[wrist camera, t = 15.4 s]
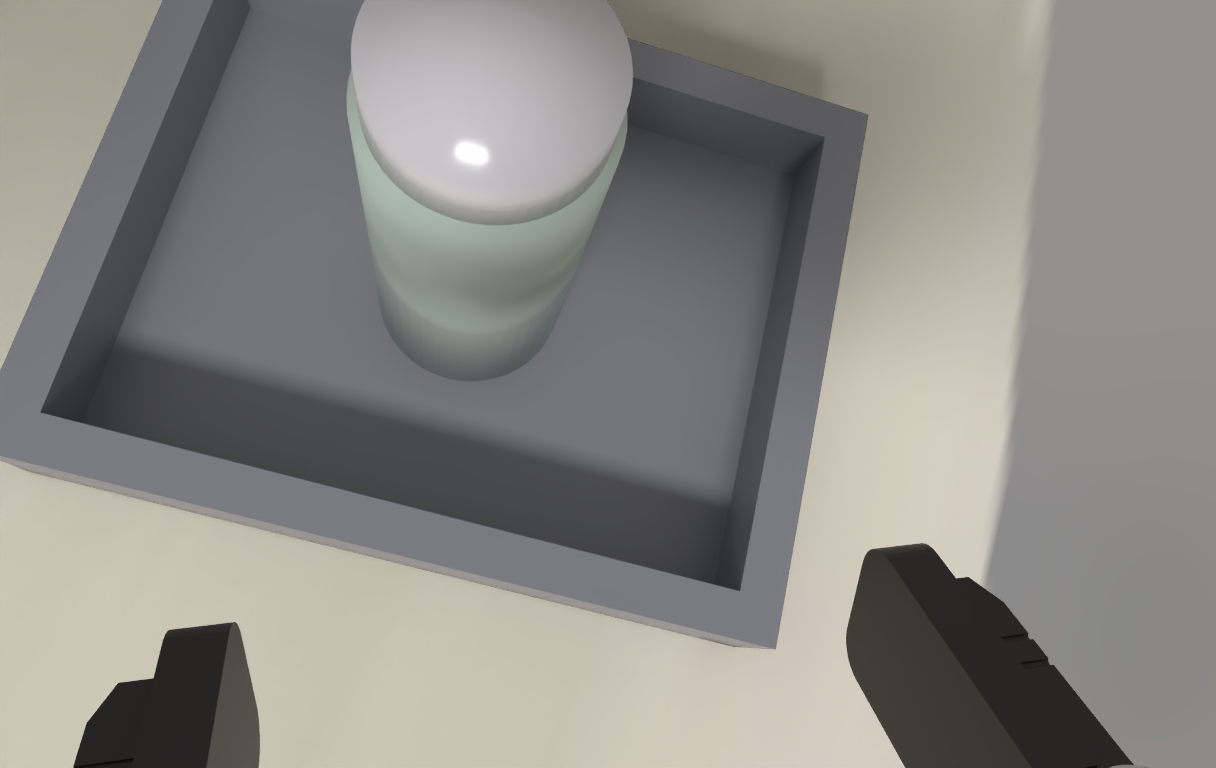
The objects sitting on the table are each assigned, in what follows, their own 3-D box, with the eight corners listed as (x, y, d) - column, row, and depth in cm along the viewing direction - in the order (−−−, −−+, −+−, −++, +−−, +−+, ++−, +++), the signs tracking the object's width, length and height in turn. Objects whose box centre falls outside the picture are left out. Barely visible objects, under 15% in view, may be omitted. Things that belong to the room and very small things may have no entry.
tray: (28, 471, 25) (-34, 447, 22) (230, -16, 30) (205, -97, 26) (734, 646, 27) (775, 649, 24) (823, 168, 32) (868, 114, 29)
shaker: (355, 352, 27) (295, 145, 15) (409, 191, 28) (390, -109, 17) (533, 402, 27) (605, 237, 16) (577, 241, 29) (671, -17, 17)
